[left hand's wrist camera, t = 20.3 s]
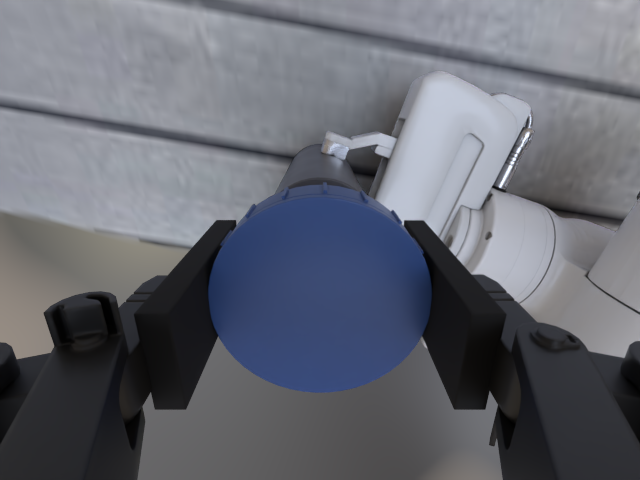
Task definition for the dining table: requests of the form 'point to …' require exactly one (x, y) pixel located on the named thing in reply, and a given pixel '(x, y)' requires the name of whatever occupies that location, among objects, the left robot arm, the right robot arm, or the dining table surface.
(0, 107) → the dining table surface
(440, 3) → the dining table surface
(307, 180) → the jar
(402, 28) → the dining table surface
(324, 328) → the lid
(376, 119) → the dining table surface
